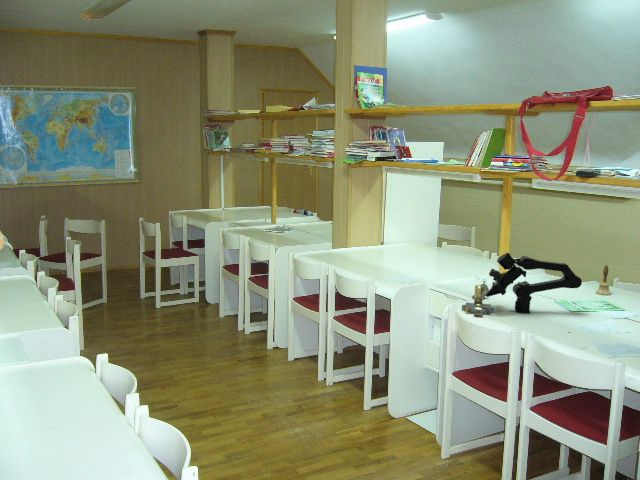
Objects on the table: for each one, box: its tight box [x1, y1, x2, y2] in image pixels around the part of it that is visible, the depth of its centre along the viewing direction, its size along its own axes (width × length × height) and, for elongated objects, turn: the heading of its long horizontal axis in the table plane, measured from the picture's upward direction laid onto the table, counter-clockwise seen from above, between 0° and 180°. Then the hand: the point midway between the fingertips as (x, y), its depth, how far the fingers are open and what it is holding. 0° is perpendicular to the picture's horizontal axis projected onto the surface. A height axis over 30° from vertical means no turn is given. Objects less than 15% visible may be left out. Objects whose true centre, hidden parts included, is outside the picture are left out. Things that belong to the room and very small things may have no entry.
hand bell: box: [595, 264, 612, 296], centre depth 369 cm, size 8×8×16 cm
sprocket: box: [461, 284, 496, 315], centre depth 329 cm, size 16×16×11 cm
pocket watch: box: [471, 278, 490, 299], centre depth 355 cm, size 8×8×10 cm
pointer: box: [473, 313, 484, 319], centre depth 320 cm, size 4×3×1 cm
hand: (486, 296), depth 332 cm, fingers closed
